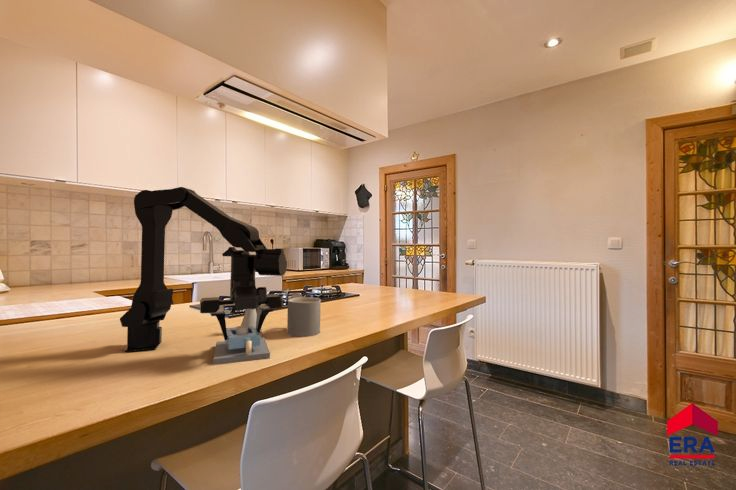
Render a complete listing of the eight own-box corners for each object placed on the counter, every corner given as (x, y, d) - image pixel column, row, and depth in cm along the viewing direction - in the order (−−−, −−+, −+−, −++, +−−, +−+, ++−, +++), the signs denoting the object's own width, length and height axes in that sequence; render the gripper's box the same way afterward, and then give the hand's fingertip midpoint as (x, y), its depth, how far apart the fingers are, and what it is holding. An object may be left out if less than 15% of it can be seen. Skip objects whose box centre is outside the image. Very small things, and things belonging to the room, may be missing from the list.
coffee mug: (325, 334, 98) (325, 301, 98) (293, 338, 93) (294, 303, 93) (309, 324, 109) (309, 295, 109) (279, 328, 104) (280, 297, 104)
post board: (213, 364, 71) (214, 336, 71) (216, 346, 84) (216, 322, 84) (269, 358, 76) (270, 331, 76) (264, 341, 89) (264, 319, 89)
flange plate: (260, 345, 78) (260, 334, 78) (228, 349, 74) (228, 338, 74) (252, 335, 86) (252, 325, 86) (224, 338, 83) (224, 328, 83)
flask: (257, 335, 95) (258, 301, 95) (233, 335, 95) (234, 301, 95) (266, 329, 102) (266, 298, 102) (243, 329, 103) (244, 297, 103)
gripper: (202, 279, 69) (200, 352, 69) (289, 276, 78) (287, 341, 78) (200, 274, 78) (198, 339, 78) (277, 273, 88) (276, 330, 88)
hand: (241, 337), depth 80 cm, fingers closed on flange plate, 7 cm apart
